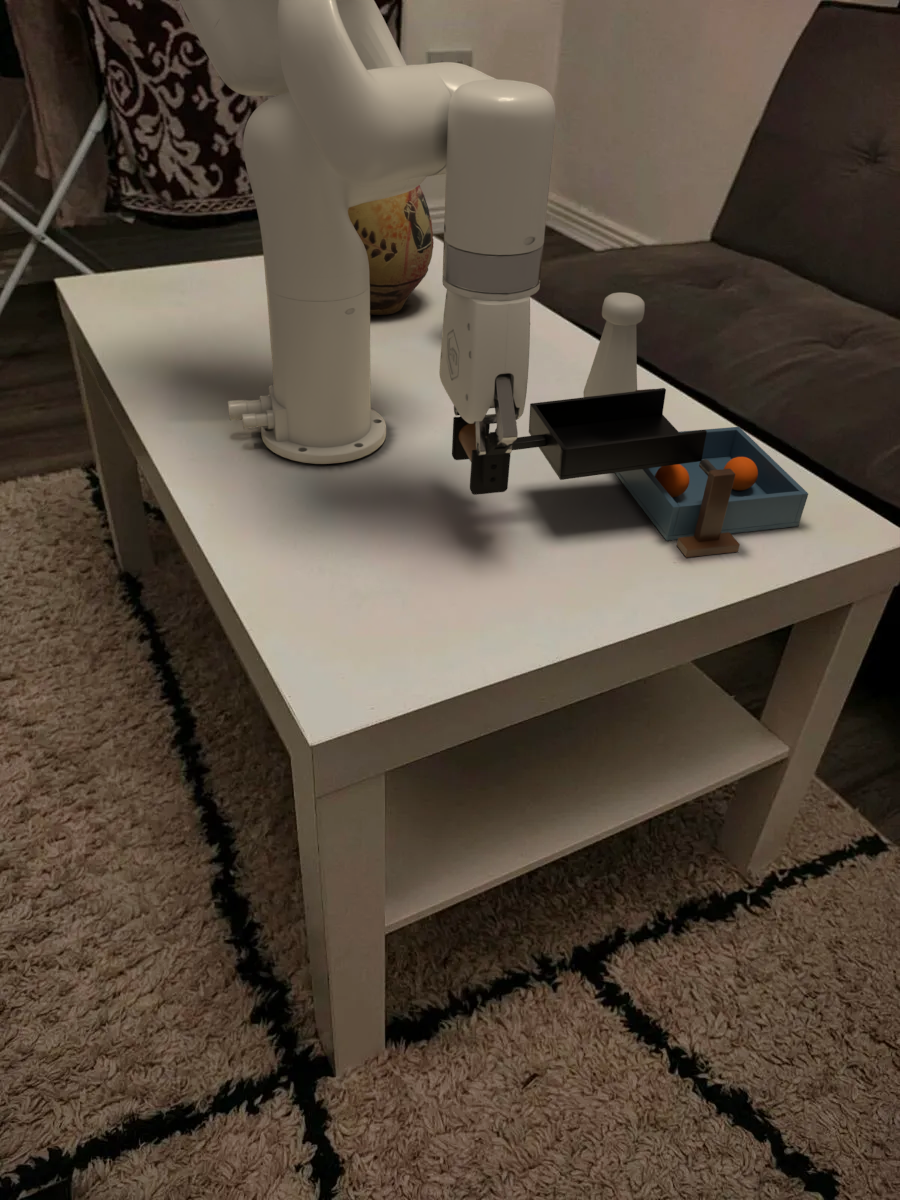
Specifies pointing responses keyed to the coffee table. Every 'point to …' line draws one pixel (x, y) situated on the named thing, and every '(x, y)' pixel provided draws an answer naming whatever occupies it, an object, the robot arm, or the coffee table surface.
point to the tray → (748, 510)
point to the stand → (711, 516)
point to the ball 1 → (673, 479)
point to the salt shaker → (616, 347)
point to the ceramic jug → (394, 246)
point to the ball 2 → (743, 472)
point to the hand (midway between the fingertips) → (478, 472)
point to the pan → (604, 434)
